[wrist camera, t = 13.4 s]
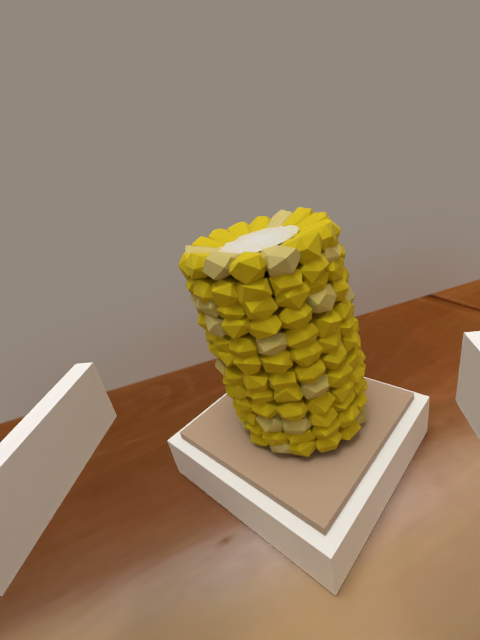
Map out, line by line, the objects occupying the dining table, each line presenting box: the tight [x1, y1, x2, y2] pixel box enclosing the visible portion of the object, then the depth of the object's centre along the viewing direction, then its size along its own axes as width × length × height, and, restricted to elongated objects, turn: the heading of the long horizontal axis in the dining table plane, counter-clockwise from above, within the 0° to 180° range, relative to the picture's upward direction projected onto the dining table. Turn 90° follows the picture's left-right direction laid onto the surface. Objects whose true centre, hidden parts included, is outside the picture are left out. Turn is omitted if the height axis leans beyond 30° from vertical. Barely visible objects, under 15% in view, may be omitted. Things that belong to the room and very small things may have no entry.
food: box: [178, 207, 368, 457], centre depth 23 cm, size 15×12×10 cm
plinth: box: [168, 377, 429, 596], centre depth 26 cm, size 14×14×4 cm
